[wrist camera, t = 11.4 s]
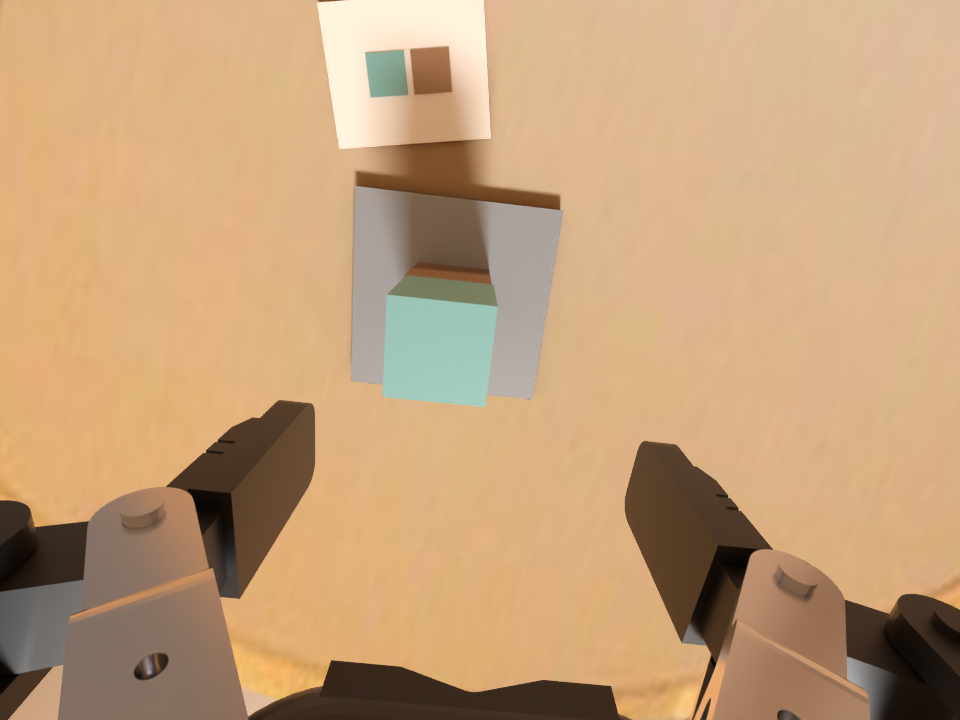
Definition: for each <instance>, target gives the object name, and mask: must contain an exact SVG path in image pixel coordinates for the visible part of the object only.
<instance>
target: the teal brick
mask: <svg viewBox="0 0 960 720" xmlns="http://www.w3.org/2000/svg"><path fill="white" fill-rule="evenodd" d="M497 310H498V305H497V300H496V295H495V290H494V285H493V284H485V283H476V282H467V281H457V280H448V279H439V278H430V277H421V276H412V275H406V276H405V277H404V278H403V279H402V280H401V281H400V282H399V283H398V284H397V285H396V286H395V287H394V288H393V289H392V290H391V291H390V292H389V293H388V294H387V301H386V325H385V348H384V372H383V395H382V397H388V398H399V399H409V400H419V401H429V402H439V403H449V404H460V405H470V406H480V407H485V406H486V398H487V390H488V382H489V374H490V366H491V358H492V350H493V342H494V334H495V326H496V318H497Z"/></svg>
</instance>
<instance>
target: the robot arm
mask: <svg viewBox="0 0 960 720" xmlns="http://www.w3.org/2000/svg"><path fill="white" fill-rule="evenodd" d="M314 466H315V411H314V407H313V405H312V404H311V403H302V402H293V401H284V400H279V401H277V402H276V403H275V404H274V405H273V406H272V407H271V408H270V409H269V410H268V411H267V412H266V413H265V414H264V415H263V416H262V417H261V418H251V419H249V420H246V421H244V422H242V423H240V424H238V425H236V426H233V427H232V428H230V429H229V430H228V431H227V432H226V433H225V434H224V435H223V436H222V437H220V438H219V439H218V442H215V443H214V444H213V445H212V446H210V447H209V448H208V449H207V450H206V453H203V454H202V455H200V456H199V457H198V458H197V459H196V460H195V461H194V462H193V463H192V464H190V465H189V466H188V467H187V468H186V469H185V470H184V471H183V472H182V473H181V474H179V475H178V476H177V477H176V478H175V479H174V480H173V481H172V482H171V483H169V484H168V485H167V486H166V487H157V488H149V489H143V490H139V491H136V492H132V493H129V494H126V495H124V496H121V497H119V498H117V499H115V500H113V501H111V502H109V503H108V504H106V505H105V506H103V507H102V508H101V509H99V510H98V511H97V512H96V513H95V514H94V515H93V516H92V518H91V519H90V521H87V522H78V523H69V524H60V525H50V526H41V527H35V526H34V522H33V518H32V515H31V511H30V508H29V507H28V506H27V505H25V504H23V503H20V502H17V501H8V500H0V720H8V719H9V718H10V716H11V715H12V714H13V713H14V712H15V711H16V710H17V708H18V707H19V706H20V705H21V704H22V703H23V701H24V700H25V699H26V698H27V697H28V695H29V694H30V693H31V692H32V691H33V690H34V689H35V687H36V686H37V685H38V684H39V683H40V681H41V680H42V679H43V678H44V677H45V676H46V674H47V673H48V672H49V671H50V670H51V669H52V667H54V666H59V665H63V675H62V685H61V695H60V706H59V714H58V720H631V719H629V718H627V717H625V716H623V715H620V714H618V711H617V708H616V704H615V700H614V696H613V692H612V688H611V686H602V685H592V684H581V683H570V682H559V681H548V680H541V681H535V682H530V683H525V684H519V685H514V686H509V687H503V688H498V689H493V690H487V691H482V692H468V691H464V690H462V689H459V688H456V687H454V686H451V685H448V684H446V683H443V682H440V681H438V680H435V679H432V678H430V677H427V676H424V675H422V674H419V673H416V672H414V671H411V670H408V669H405V668H403V667H397V666H386V665H376V664H365V663H354V662H343V661H332V660H331V663H330V666H329V669H328V672H327V675H326V678H325V681H324V684H323V686H321V687H316V688H311V689H307V690H304V691H301V692H297V693H294V694H291V695H289V696H287V697H284V698H282V699H280V700H277V701H275V702H273V703H271V704H269V705H267V706H266V707H264V708H262V709H260V710H258V711H256V712H255V713H253V714H252V715H250V716H249V717H248V715H247V711H246V706H245V702H244V698H243V694H242V689H241V685H240V681H239V677H238V672H237V668H236V664H235V660H234V655H233V651H232V647H231V643H230V638H229V634H228V630H227V626H226V621H225V617H224V613H223V609H222V604H221V600H220V597H227V598H238V599H240V597H241V596H242V594H243V593H244V591H245V589H246V588H247V586H248V584H249V583H250V581H251V579H252V578H253V576H254V575H255V573H256V571H257V570H258V568H259V566H260V565H261V563H262V562H263V560H264V558H265V557H266V555H267V553H268V552H269V550H270V549H271V547H272V545H273V544H274V542H275V540H276V539H277V537H278V535H279V534H280V532H281V531H282V529H283V527H284V526H285V524H286V522H287V521H288V519H289V518H290V516H291V514H292V513H293V511H294V509H295V508H296V506H297V504H298V503H299V501H300V500H301V498H302V496H303V495H304V493H305V491H306V490H307V488H308V486H309V484H310V482H311V479H312V476H313V472H314ZM625 514H626V518H627V521H628V524H629V526H630V528H631V530H632V533H633V535H634V537H635V539H636V542H637V544H638V546H639V548H640V551H641V553H642V555H643V557H644V560H645V562H646V564H647V566H648V568H649V571H650V573H651V575H652V577H653V580H654V582H655V584H656V586H657V589H658V591H659V593H660V595H661V598H662V600H663V602H664V604H665V607H666V609H667V611H668V613H669V616H670V618H671V620H672V622H673V624H674V627H675V629H676V631H677V633H678V636H679V638H680V640H681V642H682V643H686V644H697V645H707V647H708V649H709V651H710V653H711V655H710V657H709V660H708V662H707V665H706V667H705V670H704V674H703V677H702V680H701V683H700V687H699V690H698V693H697V697H696V700H695V703H694V706H693V710H692V713H691V716H690V720H960V610H959V609H957V608H955V607H953V606H951V605H949V604H946V603H944V602H942V601H939V600H936V599H934V598H930V597H927V596H923V595H918V594H905V595H902V596H901V597H900V598H899V599H898V601H897V602H896V604H895V606H894V608H893V609H892V611H891V613H890V614H887V613H884V612H881V611H878V610H875V609H872V608H869V607H866V606H863V605H860V604H857V603H853V602H850V601H847V600H844V597H843V595H842V593H841V591H840V590H839V588H838V587H837V586H836V585H835V584H834V582H833V581H832V580H831V579H829V578H828V577H827V576H826V575H825V574H824V573H822V572H821V571H820V570H818V569H817V568H815V567H814V566H812V565H811V564H809V563H807V562H806V561H804V560H802V559H800V558H798V557H795V556H793V555H790V554H787V553H784V552H781V551H777V550H773V549H772V548H771V547H770V545H769V544H768V543H767V542H766V541H765V539H764V538H763V537H762V536H761V534H760V533H759V532H758V531H757V530H756V528H755V527H754V526H753V525H752V524H751V522H750V521H749V520H748V519H747V518H746V516H745V515H744V514H743V513H742V512H741V511H739V510H738V507H737V505H736V504H735V503H734V502H733V501H732V499H731V498H728V495H727V493H726V492H725V491H724V490H723V489H722V487H721V486H720V485H719V484H718V482H717V481H716V480H714V479H713V478H712V477H710V476H709V475H707V474H706V473H705V472H703V471H702V470H701V469H699V468H698V467H694V466H693V465H692V464H691V462H690V461H689V460H688V459H687V457H686V456H685V455H684V453H683V452H682V451H681V450H680V448H679V447H678V446H677V445H675V444H667V443H658V442H649V441H644V442H642V443H641V444H640V446H639V448H638V451H637V455H636V459H635V462H634V466H633V470H632V474H631V477H630V481H629V485H628V488H627V492H626V496H625Z"/></svg>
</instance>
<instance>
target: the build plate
mask: <svg viewBox="0 0 960 720" xmlns="http://www.w3.org/2000/svg"><path fill="white" fill-rule="evenodd" d="M562 215H563V210H555V209H546V208H538V207H529V206H521V205H512V204H504V203H495V202H487V201H478V200H470V199H461V198H453V197H445V196H436V195H428V194H419V193H411V192H402V191H394V190H385V189H377V188H368V187H360V186H355V207H354V260H353V312H352V365H351V381H354V382H364V383H374V384H383V372H384V348H385V325H386V301H387V294H388V293H389V292H390V291H391V290H392V289H393V288H394V287H395V286H396V285H397V284H398V283H399V282H400V281H401V280H402V279H403V278H404V277H405V274H406V273H407V272H408V271H409V270H410V269H412V268H413V267H414V266H415V265H416V264H417V263H418V262H422V263H431V264H440V265H449V266H458V267H467V268H476V269H484V270H489V271H490V277H491V283H492V284H493V285H494V290H495V295H496V300H497V305H498V310H497V318H496V326H495V334H494V342H493V350H492V358H491V366H490V374H489V382H488V390H487V395H494V396H504V397H514V398H524V399H533V393H534V387H535V381H536V375H537V368H538V362H539V356H540V350H541V344H542V338H543V332H544V325H545V319H546V313H547V307H548V301H549V295H550V289H551V282H552V276H553V270H554V264H555V258H556V252H557V246H558V239H559V233H560V227H561V221H562Z"/></svg>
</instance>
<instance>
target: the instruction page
mask: <svg viewBox="0 0 960 720" xmlns="http://www.w3.org/2000/svg"><path fill="white" fill-rule="evenodd" d="M317 5H318V12H319V19H320V25H321V32H322V38H323V45H324V52H325V58H326V65H327V71H328V78H329V85H330V91H331V98H332V104H333V111H334V118H335V124H336V131H337V138H338V144H339V149H347V148H361V147H375V146H390V145H404V144H418V143H433V142H447V141H461V140H476V139H490V138H491V133H490V113H489V94H488V74H487V54H486V34H485V15H484V0H344V1H330V2H317Z"/></svg>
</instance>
